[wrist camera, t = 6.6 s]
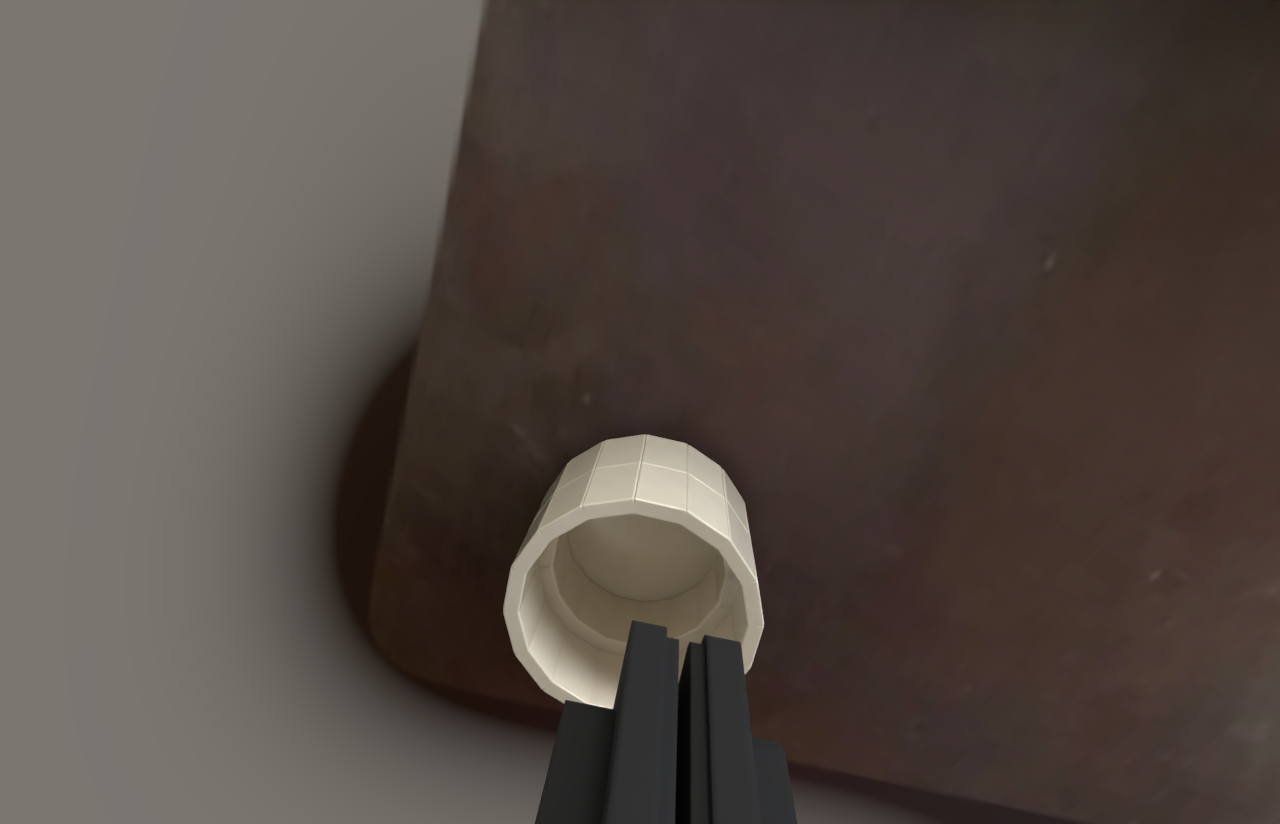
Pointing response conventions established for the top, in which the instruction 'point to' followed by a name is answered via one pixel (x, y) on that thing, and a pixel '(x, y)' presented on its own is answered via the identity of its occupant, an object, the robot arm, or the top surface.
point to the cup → (630, 565)
